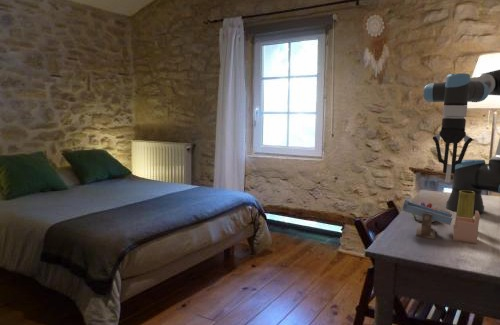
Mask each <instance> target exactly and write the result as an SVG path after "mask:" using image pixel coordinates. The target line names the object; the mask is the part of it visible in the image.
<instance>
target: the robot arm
mask: <svg viewBox="0 0 500 325" xmlns="http://www.w3.org/2000/svg"><path fill="white" fill-rule="evenodd" d="M488 96H500V69H497V70H491V71H488V72H485V73H480V74H478V75H476V76H473V77H471V75H470V74H469V73H463V72H461V73H450V74H447V75H446V79H445V81H444V82H443V81H442V82H431V83H428V84H426V85H425V86H424V88H423V99H424V100H425V101H426V102H428V103H429V102H430V103H441V102H442V103H443V107H442V117H444V118H442V119H441V129H440V130H439V133H438V134H436V135H434V136H432V140H433V142H434V143H435V148H436V155H437V161H438V162H439V163H441V164H442V166H443V168H442V173H443V174H445V181H444V182H445V183H447V184H450V183H451V175H452V174H453V177H452V186H451V187H452V188H451V192H450V195H449V196H448V200H447V201H446V203H445V208H446V209H447V210H450V211H453V212H457V206H458V199H459V191H460V190H466V191H473V192H475V200H474V212H473V215H475V210H476V211H478V212H479V215H480V214H484V213H485V205H484V201H483V197H482V191H486V192H491V193H496V194H500V138H498V143H497V148H496V150H495V155H494V156H492V157H491V158H490V159H489V162H488V163H486V160H485V159H464V157H465V155H466V153H467V151H468V150H467V149H468V147H469V144H471V142H472V141H473V138H472V137H470V136H469V135H468V134H467V133H466V123H467V122H466V121H467V120H466V118H465V117H467V112H468V102H469V103H479V102H483V101H485V100H486V99H487V98H488ZM440 137H441V138H440ZM441 139H442V141H443V142H444V143H445V147H444V157H442V153H441V152H442V151H441V144H440V140H441ZM463 139H464V140H463ZM462 140H463V142H464V143H463V146H462V148H461V151H460V153H459V156H458V159H457V154H458V145H459V144H460V142H461V141H462ZM450 144H452V156H451V164H450V163H449V162H448V161H449V153H450V152H449V151H450ZM448 163H449V164H448Z"/></svg>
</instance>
